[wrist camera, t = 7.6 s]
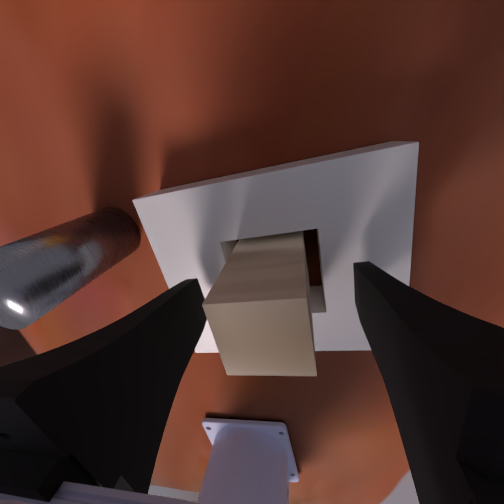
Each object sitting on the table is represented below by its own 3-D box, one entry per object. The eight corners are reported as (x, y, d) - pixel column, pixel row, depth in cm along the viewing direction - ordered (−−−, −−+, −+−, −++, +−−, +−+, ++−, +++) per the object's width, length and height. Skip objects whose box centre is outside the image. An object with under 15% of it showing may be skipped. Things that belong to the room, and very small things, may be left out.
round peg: (147, 251, 15) (47, 327, 9) (108, 256, 16) (-10, 330, 10) (127, 203, 14) (-5, 255, 8) (85, 211, 15) (-66, 265, 9)
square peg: (308, 270, 14) (317, 376, 8) (256, 275, 15) (227, 375, 9) (302, 220, 13) (306, 298, 7) (245, 228, 14) (202, 304, 7)
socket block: (388, 317, 14) (405, 349, 12) (208, 325, 17) (195, 352, 15) (393, 140, 10) (418, 142, 8) (159, 189, 13) (132, 200, 11)
